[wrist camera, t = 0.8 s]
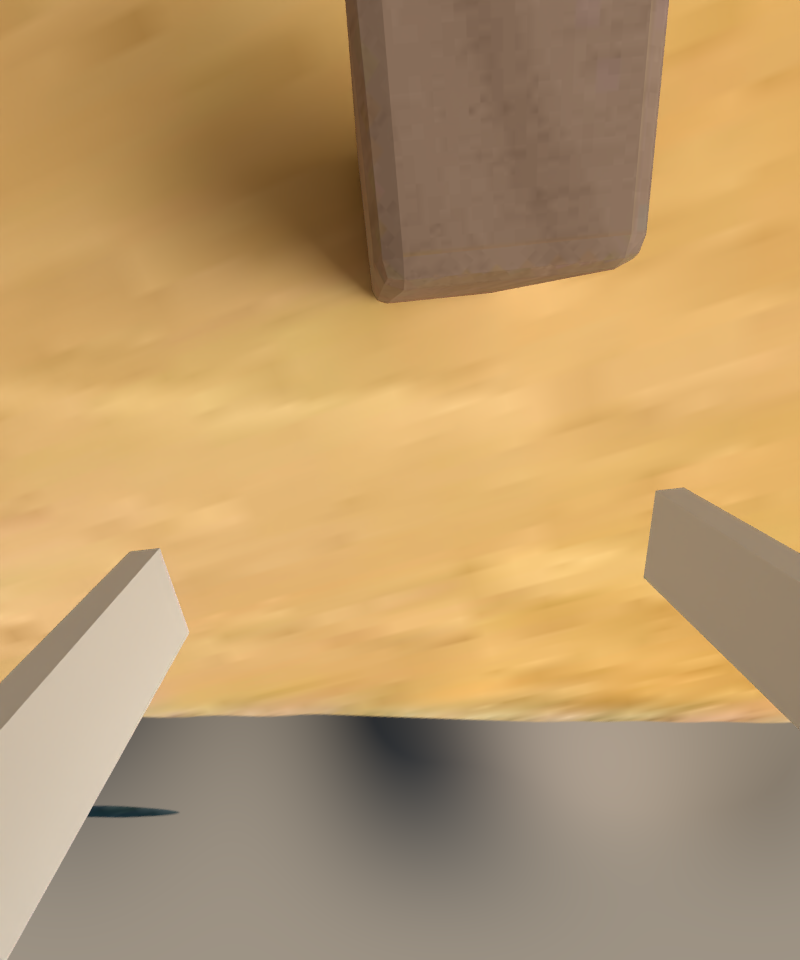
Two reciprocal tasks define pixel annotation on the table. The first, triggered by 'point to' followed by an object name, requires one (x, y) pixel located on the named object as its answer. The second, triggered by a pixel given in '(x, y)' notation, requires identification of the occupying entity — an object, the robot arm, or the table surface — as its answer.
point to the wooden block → (503, 139)
